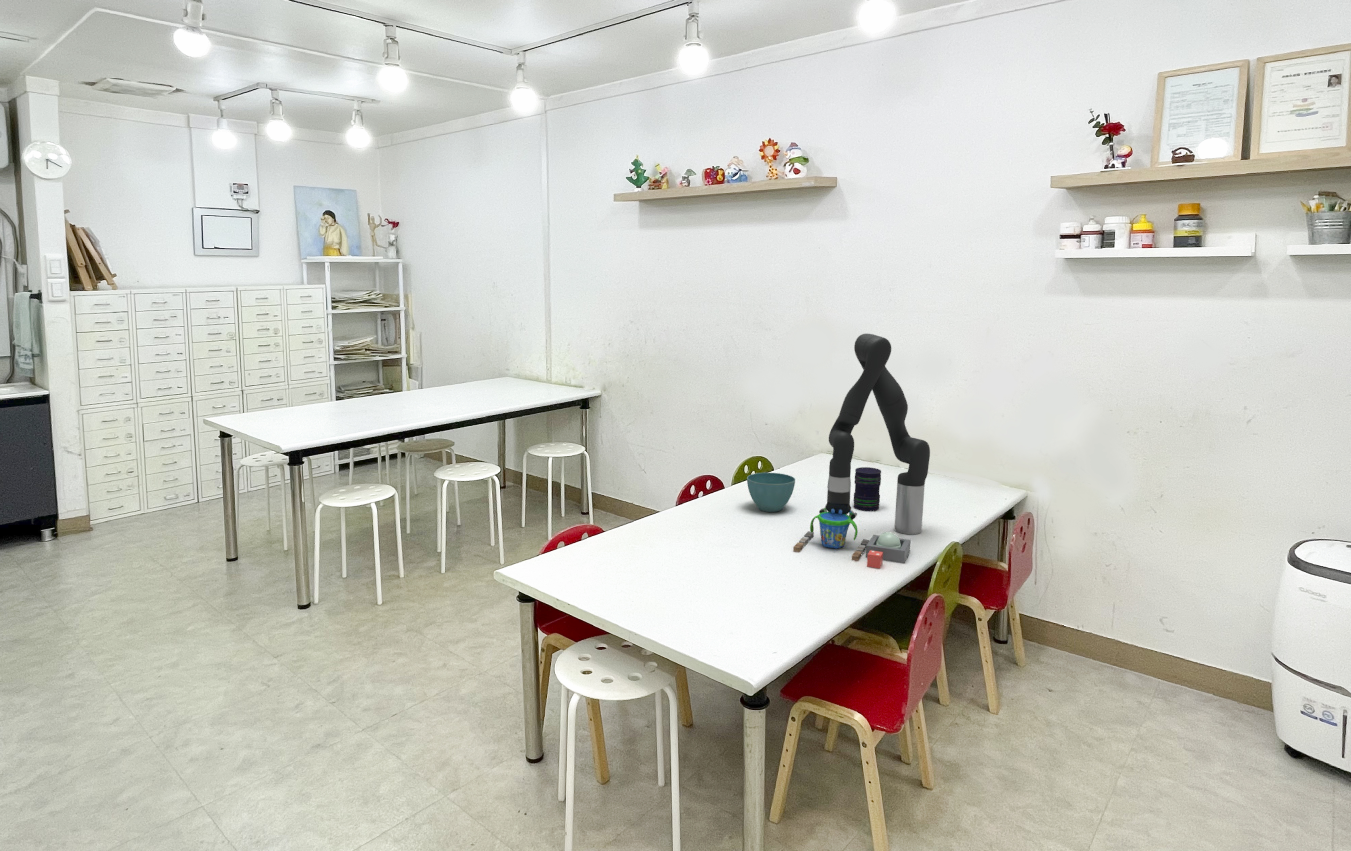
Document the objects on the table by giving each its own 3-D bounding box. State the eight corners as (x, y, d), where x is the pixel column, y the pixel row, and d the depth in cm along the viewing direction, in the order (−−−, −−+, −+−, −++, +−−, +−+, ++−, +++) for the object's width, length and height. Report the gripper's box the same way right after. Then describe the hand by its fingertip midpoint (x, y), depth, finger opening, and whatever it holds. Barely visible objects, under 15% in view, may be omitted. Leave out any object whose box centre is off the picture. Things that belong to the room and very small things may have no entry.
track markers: (807, 535, 280) (808, 531, 280) (869, 544, 272) (869, 539, 272) (793, 551, 264) (793, 546, 264) (857, 561, 256) (858, 556, 256)
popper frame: (872, 546, 270) (873, 534, 269) (909, 551, 265) (910, 539, 264) (865, 557, 259) (866, 545, 259) (904, 563, 254) (904, 551, 254)
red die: (869, 562, 255) (870, 549, 254) (882, 564, 253) (883, 551, 253) (866, 566, 251) (867, 553, 251) (880, 568, 250) (880, 555, 249)
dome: (878, 548, 267) (879, 527, 266) (902, 552, 264) (903, 530, 263) (873, 555, 260) (875, 534, 259) (898, 559, 257) (899, 537, 256)
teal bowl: (737, 505, 315) (738, 474, 313) (777, 500, 323) (778, 470, 321) (761, 518, 299) (762, 486, 297) (803, 512, 307) (804, 481, 304)
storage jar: (851, 510, 311) (853, 472, 308) (854, 503, 320) (856, 466, 317) (878, 512, 308) (880, 474, 305) (880, 505, 317) (882, 468, 314)
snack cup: (861, 545, 270) (862, 516, 268) (849, 554, 262) (850, 524, 260) (817, 536, 279) (818, 508, 277) (804, 545, 270) (805, 516, 268)
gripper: (861, 488, 272) (858, 537, 275) (822, 483, 278) (820, 532, 281) (856, 493, 265) (853, 544, 269) (816, 488, 271) (814, 538, 274)
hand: (836, 538), depth 275 cm, fingers closed
